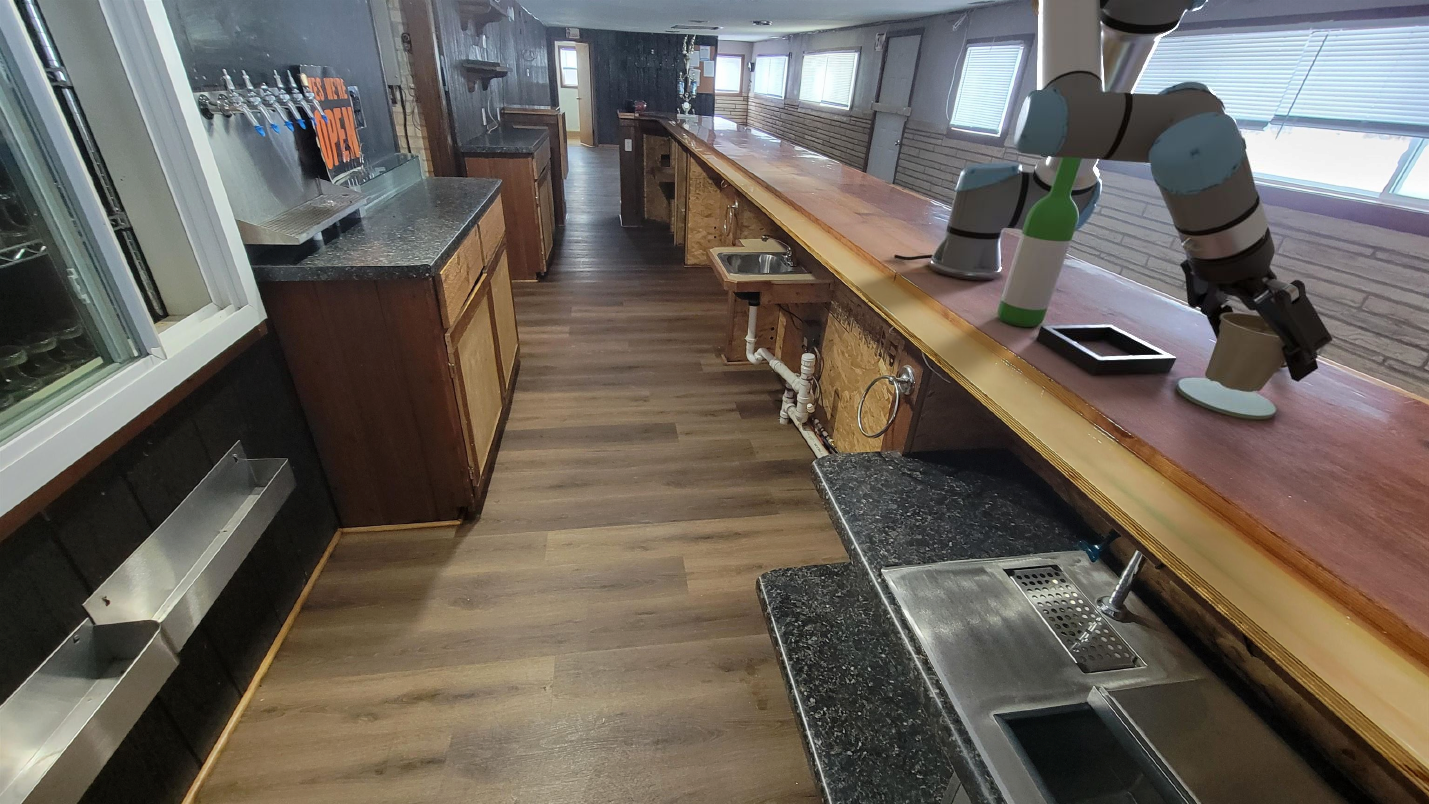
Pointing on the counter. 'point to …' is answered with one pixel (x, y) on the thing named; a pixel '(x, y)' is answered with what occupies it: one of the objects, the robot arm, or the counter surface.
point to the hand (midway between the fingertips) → (1265, 356)
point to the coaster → (1225, 399)
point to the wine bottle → (1041, 251)
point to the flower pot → (1245, 353)
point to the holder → (1140, 361)
